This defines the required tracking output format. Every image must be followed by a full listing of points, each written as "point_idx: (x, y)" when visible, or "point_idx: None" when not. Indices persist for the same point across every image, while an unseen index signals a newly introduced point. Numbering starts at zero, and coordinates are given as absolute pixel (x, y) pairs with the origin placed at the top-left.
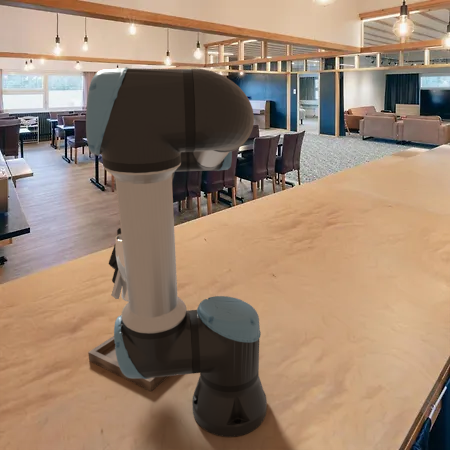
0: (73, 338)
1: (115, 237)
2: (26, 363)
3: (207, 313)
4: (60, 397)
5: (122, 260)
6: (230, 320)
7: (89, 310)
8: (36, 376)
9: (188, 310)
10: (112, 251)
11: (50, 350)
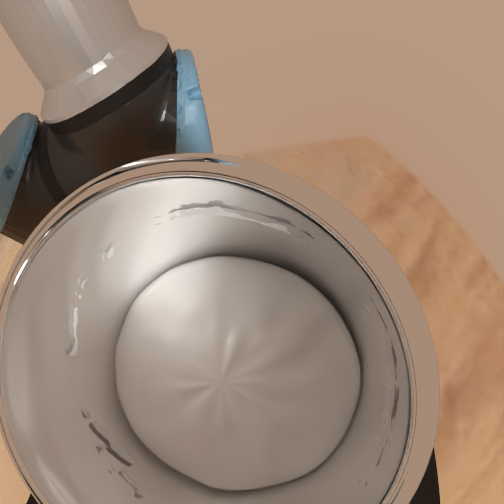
0: (439, 369)
1: (417, 308)
2: (467, 276)
3: (22, 118)
4: (363, 211)
5: (258, 252)
6: (7, 127)
7: (446, 466)
8: (432, 249)
9: (48, 146)
10: (435, 460)
11: (456, 321)
